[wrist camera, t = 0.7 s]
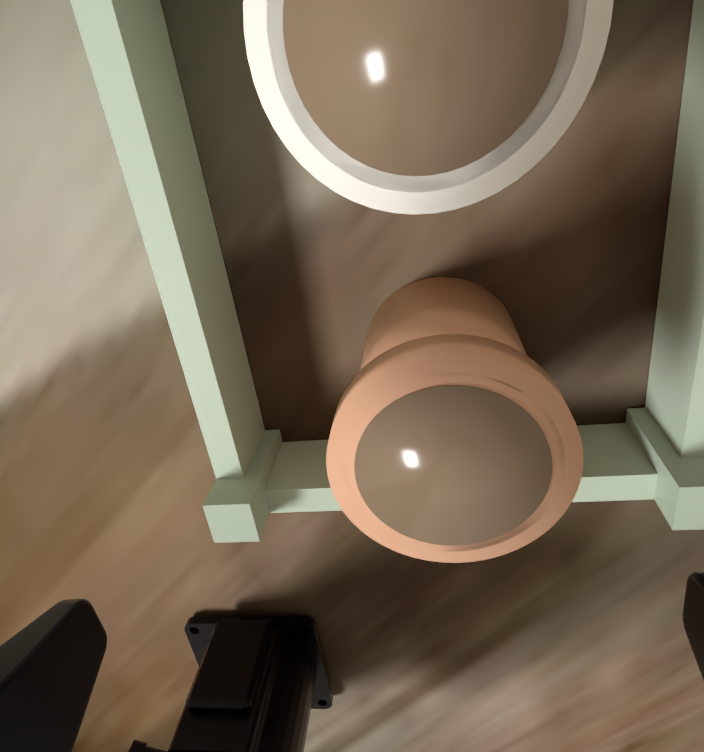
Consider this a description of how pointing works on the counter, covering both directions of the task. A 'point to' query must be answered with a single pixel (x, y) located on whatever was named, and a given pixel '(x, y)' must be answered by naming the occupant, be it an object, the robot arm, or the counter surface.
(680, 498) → the cold frame
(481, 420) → the terracotta pot
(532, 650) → the counter surface
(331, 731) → the counter surface
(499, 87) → the pot
